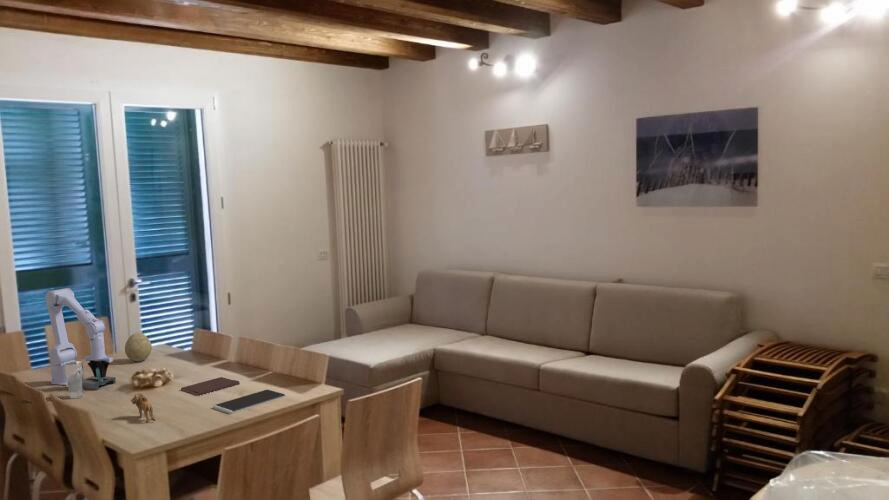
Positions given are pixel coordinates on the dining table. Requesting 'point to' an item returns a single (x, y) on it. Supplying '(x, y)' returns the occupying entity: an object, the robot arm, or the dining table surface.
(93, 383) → the keyhole plate
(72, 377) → the beer glass
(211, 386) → the notebook
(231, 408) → the smartphone
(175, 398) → the dining table surface
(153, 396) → the dining table surface
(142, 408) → the lion figurine
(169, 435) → the dining table surface
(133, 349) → the fossilized egg
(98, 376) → the peg
